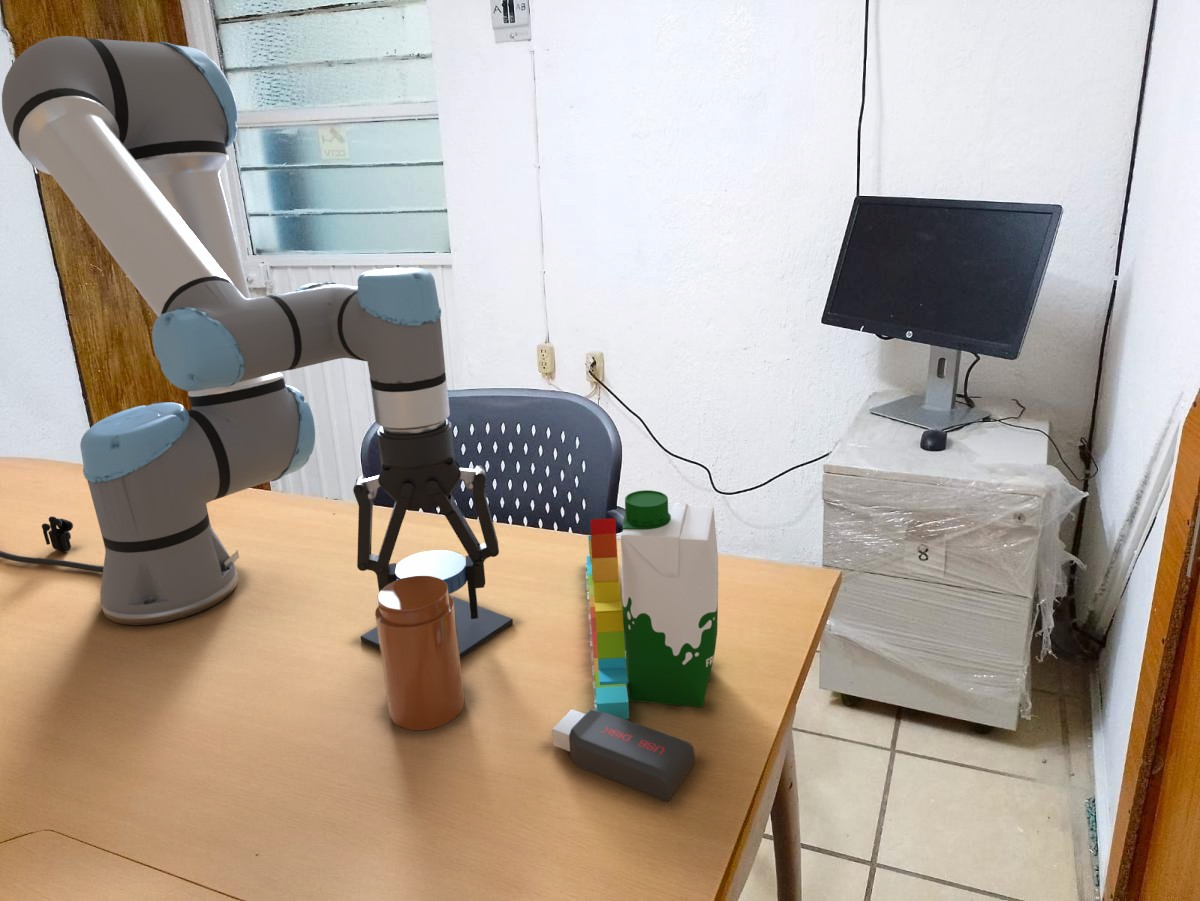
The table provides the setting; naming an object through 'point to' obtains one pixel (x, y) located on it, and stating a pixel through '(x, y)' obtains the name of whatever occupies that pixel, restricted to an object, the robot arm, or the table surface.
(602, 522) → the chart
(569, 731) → the usb drive
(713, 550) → the milk carton
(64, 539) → the wireless earbuds
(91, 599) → the table surface
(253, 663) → the table surface
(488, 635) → the mat
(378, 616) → the jar
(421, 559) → the lid
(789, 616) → the table surface
